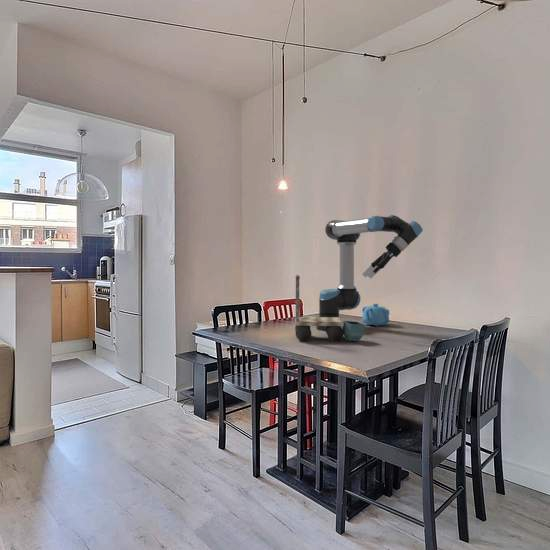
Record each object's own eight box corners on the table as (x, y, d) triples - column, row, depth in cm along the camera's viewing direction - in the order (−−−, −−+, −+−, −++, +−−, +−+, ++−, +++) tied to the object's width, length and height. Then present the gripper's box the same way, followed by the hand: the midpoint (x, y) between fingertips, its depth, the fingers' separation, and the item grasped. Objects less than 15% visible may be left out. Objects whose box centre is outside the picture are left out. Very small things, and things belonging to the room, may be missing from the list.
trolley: (339, 335, 216) (340, 274, 215) (343, 341, 200) (344, 276, 199) (295, 335, 217) (295, 274, 215) (295, 341, 201) (295, 275, 200)
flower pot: (339, 337, 204) (342, 320, 204) (354, 338, 207) (357, 321, 207) (348, 342, 196) (350, 324, 195) (363, 342, 199) (366, 325, 198)
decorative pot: (362, 327, 245) (362, 304, 245) (361, 322, 261) (361, 302, 260) (390, 327, 242) (390, 305, 242) (387, 323, 258) (387, 302, 258)
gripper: (385, 242, 215) (356, 270, 216) (397, 240, 190) (365, 271, 192) (395, 252, 215) (366, 280, 216) (408, 251, 190) (376, 282, 192)
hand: (366, 276), depth 204 cm, fingers open, 13 cm apart
